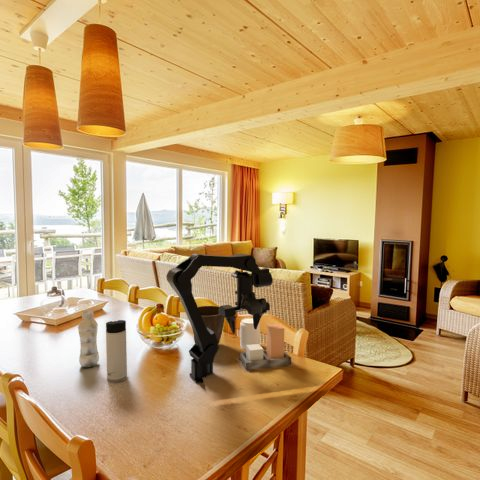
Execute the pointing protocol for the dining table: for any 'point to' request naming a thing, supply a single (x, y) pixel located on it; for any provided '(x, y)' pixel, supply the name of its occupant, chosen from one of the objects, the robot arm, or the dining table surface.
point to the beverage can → (249, 333)
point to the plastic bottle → (88, 340)
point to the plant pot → (212, 319)
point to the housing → (263, 362)
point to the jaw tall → (275, 341)
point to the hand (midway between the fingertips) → (244, 331)
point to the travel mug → (116, 351)
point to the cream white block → (254, 352)
